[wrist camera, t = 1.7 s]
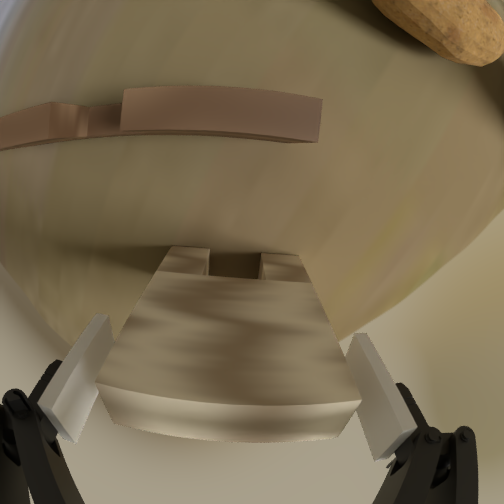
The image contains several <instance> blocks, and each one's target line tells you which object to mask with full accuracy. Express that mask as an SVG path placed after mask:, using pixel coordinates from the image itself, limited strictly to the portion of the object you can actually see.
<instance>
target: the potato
mask: <svg viewBox="0 0 504 504" xmlns="http://www.w3.org/2000/svg"><path fill="white" fill-rule="evenodd" d="M372 2H373V4H374V5H375V6H376V7H377V8H378V9H379V10H380V11H381V12H382V13H383V14H384V16H386V17H387V18H388V19H390V20H391V21H392V22H394V23H395V24H396V25H398V26H399V27H400V28H402V29H403V30H405V31H406V32H408V33H409V34H410V35H412V36H413V37H415V38H416V39H418V40H419V41H421V42H422V43H424V44H425V45H426V46H428V47H429V48H431V49H432V50H433V51H435V52H436V53H437V54H439V55H440V56H441V57H444V58H446V59H448V60H451V61H453V62H455V63H461V64H469V65H475V66H481V67H482V66H484V65H487V64H489V63H492V62H493V61H495V60H496V59H498V58H499V57H500V56H501V55H502V54H503V53H504V23H503V20H502V19H501V17H500V16H499V15H498V13H497V12H496V11H495V10H494V9H493V8H492V7H491V5H490V4H489V3H488V2H487V1H486V0H372Z"/></svg>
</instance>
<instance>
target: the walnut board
mask: <svg viewBox="0 0 504 504" xmlns="http://www.w3.org/2000/svg"><path fill="white" fill-rule="evenodd" d="M322 100H323V99H319V98H314V97H308V96H303V95H297V94H291V93H284V92H277V91H269V90H260V89H250V88H238V87H222V86H158V87H143V88H131V89H124V94H123V102H122V103H119V104H110V105H101V106H94V107H85V106H79V105H72V104H64V103H56V102H49V103H45V104H41V105H38V106H34V107H31V108H27V109H24V110H21V111H18V112H15V113H12V114H9V115H6V116H3V117H1V118H0V151H2V150H8V149H14V148H21V147H28V146H35V145H41V144H47V143H54V142H61V141H69V140H77V139H87V138H98V137H112V136H130V135H201V136H220V137H235V138H247V139H257V140H266V141H275V142H283V143H313V142H318V138H319V129H320V120H321V110H322Z"/></svg>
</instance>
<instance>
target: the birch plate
mask: <svg viewBox="0 0 504 504" xmlns="http://www.w3.org/2000/svg"><path fill="white" fill-rule="evenodd" d="M209 254H210V249H209V248H196V247H184V246H172V247H171V248H170V250H169V251H168V253H167V254H166V256H165V258H164V259H163V261H162V262H161V264H160V265H159V267H158V269H157V270H156V272H155V273H154V275H153V277H152V278H151V280H150V282H149V283H148V285H147V287H146V288H145V290H144V292H143V293H142V295H141V297H140V298H139V300H138V302H137V304H136V305H135V307H134V309H133V310H132V312H131V314H130V316H129V317H128V319H127V321H126V323H125V325H124V326H123V328H122V330H121V332H120V334H119V335H118V337H117V339H116V341H115V343H114V345H113V347H112V348H111V350H110V352H109V354H108V356H107V358H106V360H105V362H104V364H103V366H102V368H101V370H100V372H99V374H98V376H97V378H96V380H95V385H96V387H97V389H98V392H99V394H100V396H101V398H102V400H103V402H104V405H105V407H106V408H107V411H108V413H109V415H110V417H111V419H112V421H113V422H114V424H118V425H122V426H126V427H130V428H135V429H139V430H144V431H149V432H154V433H159V434H165V435H171V436H178V437H185V438H192V439H201V440H212V441H226V442H252V443H258V442H260V443H262V442H263V443H265V442H266V443H267V442H268V443H269V442H295V441H309V440H320V439H328V438H336V437H338V436H339V435H340V433H341V432H342V430H343V429H344V428H345V426H346V424H347V423H348V422H349V420H350V418H351V417H352V415H353V414H354V412H355V411H356V409H357V407H358V406H359V404H360V402H361V401H362V398H361V396H360V393H359V391H358V388H357V386H356V383H355V381H354V378H353V376H352V373H351V371H350V369H349V366H348V364H347V361H346V359H345V357H344V354H343V352H342V350H341V347H340V345H339V343H338V340H337V338H336V336H335V333H334V331H333V329H332V327H331V324H330V322H329V320H328V318H327V315H326V313H325V311H324V309H323V306H322V304H321V302H320V300H319V298H318V295H317V293H316V291H315V289H314V287H313V285H312V282H311V280H310V278H309V276H308V274H307V272H306V270H305V268H304V265H303V263H302V261H301V259H300V257H299V256H296V255H283V254H271V253H261V259H260V267H259V276H258V279H245V278H232V277H219V276H209Z"/></svg>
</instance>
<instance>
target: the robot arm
mask: <svg viewBox="0 0 504 504" xmlns="http://www.w3.org/2000/svg"><path fill="white" fill-rule="evenodd" d="M114 343H115V342H114V337H113V333H112V329H111V324H110V319H109V315H104V314H99V313H96V315H95V316H94V317H93V319H92V320H91V322H90V323H89V324H88V326H87V327H86V328H85V330H84V331H83V333H82V334H81V336H80V337H79V338H78V340H77V341H76V343H75V344H74V346H73V347H72V349H71V350H70V352H69V353H68V354H67V356H66V357H65V359H64V361H60V360H55V361H54V362H53V363H52V364H50V365H49V366H48V368H47V369H46V371H45V374H43V375H42V377H41V380H39V381H38V383H37V385H36V386H35V388H34V389H33V391H32V393H31V394H30V396H29V397H28V398H27V396H26V395H25V393H24V392H23V391H22V390H19V389H11V390H9V391H7V392H6V393H5V395H4V397H3V399H2V403H3V405H1V404H0V504H30V498H29V491H28V487H29V490H30V493H31V496H32V499H33V501H34V504H85V503H84V501H83V499H82V497H81V495H80V493H79V491H78V489H77V487H76V485H75V483H74V481H73V478H72V476H71V474H70V471H69V469H68V467H67V464H66V462H65V459H64V456H63V454H62V451H61V448H60V446H59V443H58V440H57V439H56V435H57V433H59V434H60V436H61V437H62V438H63V439H65V440H68V441H70V442H73V443H75V444H77V441H78V439H79V436H80V434H81V431H82V429H83V427H84V424H85V422H86V420H87V417H88V415H89V412H90V410H91V408H92V406H93V404H94V401H95V399H96V397H97V395H98V393H99V392H98V389H97V387H96V385H95V380H96V378H97V376H98V374H99V372H100V370H101V368H102V366H103V364H104V362H105V360H106V358H107V356H108V354H109V352H110V350H111V348H112V347H113V345H114ZM345 359H346V361H347V364H348V366H349V369H350V371H351V373H352V376H353V378H354V381H355V383H356V386H357V388H358V391H359V393H360V396H361V398H362V401H361V402H360V404H359V406H358V407H357V409H356V411H357V414H358V417H359V419H360V422H361V425H362V428H363V431H364V433H365V436H366V439H367V442H368V445H369V448H370V450H371V453H372V456H373V459H374V462H376V461H380V460H383V459H387V458H389V457H390V456H391V455H392V454H393V453H395V455H396V458H395V459H394V460H393V461H391V462H390V463H389V464H388V465H387V467H386V468H389V467H390V466H391V467H390V470H389V472H388V474H387V476H386V478H385V480H384V482H383V484H382V486H381V488H380V490H379V492H378V494H377V496H376V498H375V500H374V502H373V504H478V462H477V449H476V440H475V434H474V432H473V430H472V429H470V428H469V427H467V426H461V427H459V428H458V429H457V430H456V431H455V432H454V433H441V432H440V431H439V430H438V429H436V428H435V427H429V426H428V424H427V422H426V420H425V419H424V416H423V415H422V413H421V411H420V409H419V407H418V406H417V404H416V402H415V400H414V398H413V397H412V394H411V393H410V391H409V389H408V388H407V387H406V386H405V385H404V384H402V383H396V384H395V383H394V381H393V379H392V377H391V375H390V373H389V372H388V370H387V368H386V366H385V364H384V363H383V361H382V359H381V357H380V356H379V354H378V352H377V350H376V349H375V347H374V345H373V344H372V342H371V340H370V338H369V337H368V335H367V333H355V334H354V336H353V339H352V341H351V344H350V347H349V349H348V352H347V354H346V357H345Z"/></svg>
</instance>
